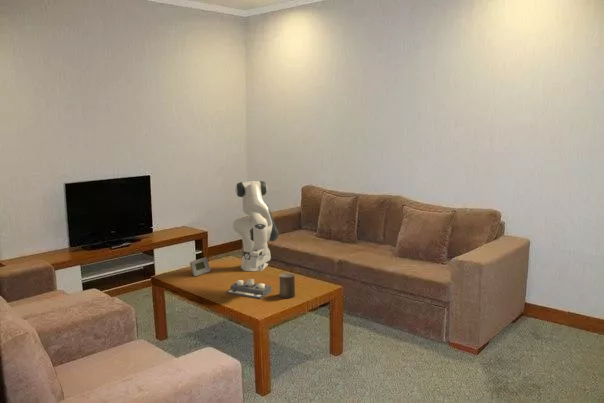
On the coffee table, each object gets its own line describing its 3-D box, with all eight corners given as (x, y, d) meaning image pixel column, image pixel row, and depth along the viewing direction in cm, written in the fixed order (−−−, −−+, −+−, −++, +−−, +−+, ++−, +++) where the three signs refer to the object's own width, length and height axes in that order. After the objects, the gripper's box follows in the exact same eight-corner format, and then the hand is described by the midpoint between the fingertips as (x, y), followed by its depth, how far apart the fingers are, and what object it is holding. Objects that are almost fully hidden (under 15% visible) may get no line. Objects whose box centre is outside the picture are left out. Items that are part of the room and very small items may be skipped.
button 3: (260, 289, 315) (260, 282, 314) (266, 290, 313) (265, 283, 312) (256, 291, 311) (256, 284, 310) (262, 292, 309) (262, 285, 308)
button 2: (249, 284, 318) (249, 278, 317) (255, 285, 316) (255, 279, 315) (245, 286, 314) (245, 280, 313) (251, 287, 312) (251, 281, 311)
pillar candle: (296, 297, 305) (296, 274, 302) (281, 299, 302) (281, 275, 300) (292, 292, 314) (292, 270, 311) (277, 294, 311) (277, 271, 309)
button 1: (239, 286, 322) (238, 279, 321) (244, 286, 320) (244, 280, 319) (235, 288, 318) (235, 281, 317) (241, 289, 316) (241, 282, 315)
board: (239, 286, 326) (239, 280, 325) (272, 291, 316) (271, 285, 315) (226, 293, 313) (226, 287, 312) (260, 298, 302) (260, 292, 302)
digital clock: (193, 277, 345) (193, 263, 343) (187, 274, 351) (186, 260, 350) (213, 272, 356) (212, 258, 354) (206, 270, 362) (206, 256, 360)
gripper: (264, 245, 318) (264, 265, 321) (248, 253, 300) (248, 274, 303) (272, 246, 316) (273, 266, 318) (256, 254, 297) (257, 276, 300)
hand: (261, 270), depth 310 cm, fingers closed
